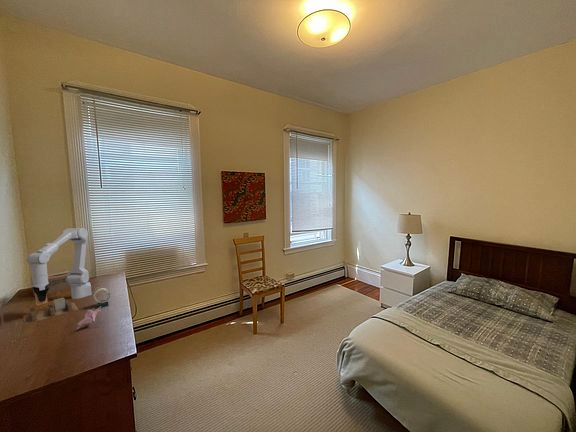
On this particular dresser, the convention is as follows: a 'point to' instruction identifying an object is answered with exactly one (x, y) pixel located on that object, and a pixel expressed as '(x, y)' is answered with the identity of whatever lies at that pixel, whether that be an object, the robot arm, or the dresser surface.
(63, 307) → the grey plug
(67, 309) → the cable comb
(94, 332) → the dresser surface
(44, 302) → the terracotta plug
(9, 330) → the dresser surface
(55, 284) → the tissue box cover
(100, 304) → the watch
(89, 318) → the lily
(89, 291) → the robot arm
